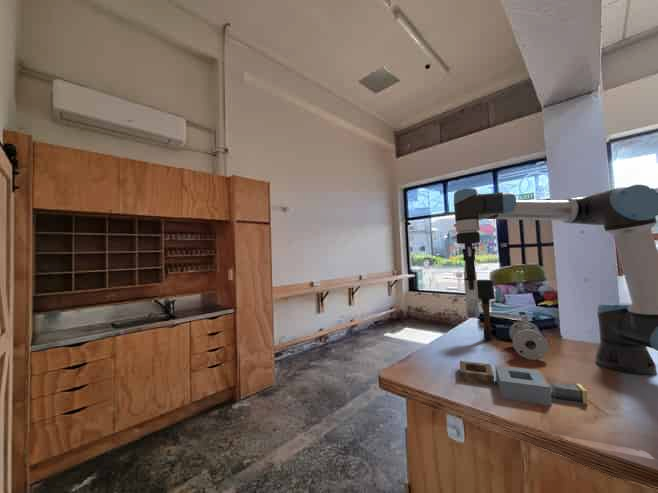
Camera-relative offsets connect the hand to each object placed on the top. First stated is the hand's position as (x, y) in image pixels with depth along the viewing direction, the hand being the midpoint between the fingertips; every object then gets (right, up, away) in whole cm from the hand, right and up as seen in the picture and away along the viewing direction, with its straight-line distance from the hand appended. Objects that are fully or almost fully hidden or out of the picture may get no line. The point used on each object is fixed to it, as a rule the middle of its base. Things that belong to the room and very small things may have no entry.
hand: (471, 297), depth 96 cm
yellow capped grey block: (+19, -27, -17) cm, 37 cm away
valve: (+37, -28, +23) cm, 52 cm away
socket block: (+13, -28, -14) cm, 33 cm away
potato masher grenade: (+30, -29, +40) cm, 58 cm away
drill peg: (0, -7, 0) cm, 7 cm away
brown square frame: (+1, -29, -1) cm, 29 cm away
